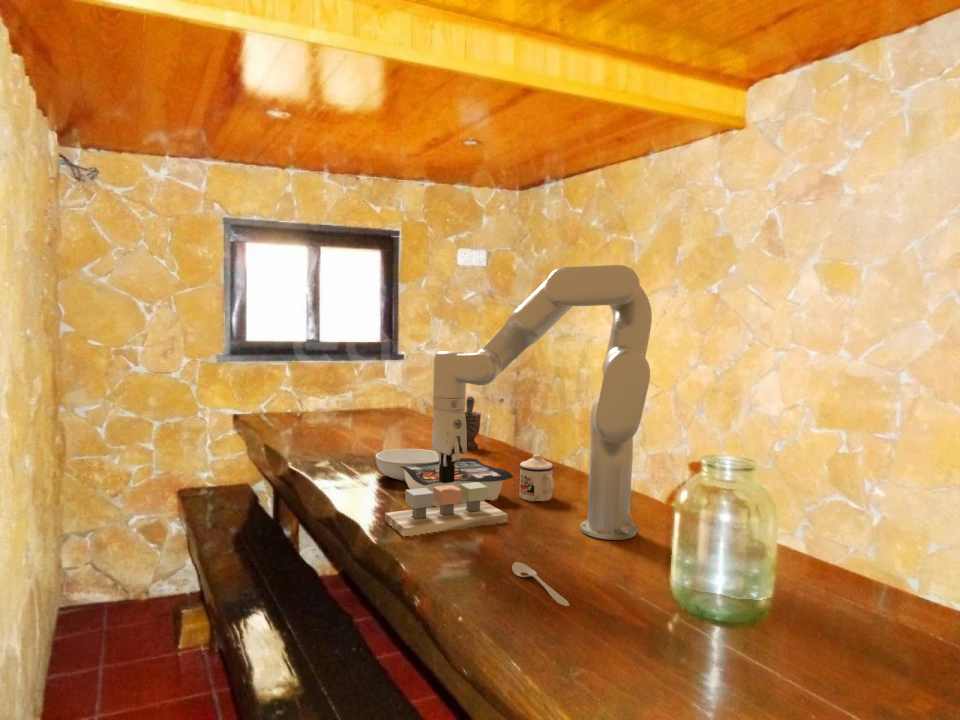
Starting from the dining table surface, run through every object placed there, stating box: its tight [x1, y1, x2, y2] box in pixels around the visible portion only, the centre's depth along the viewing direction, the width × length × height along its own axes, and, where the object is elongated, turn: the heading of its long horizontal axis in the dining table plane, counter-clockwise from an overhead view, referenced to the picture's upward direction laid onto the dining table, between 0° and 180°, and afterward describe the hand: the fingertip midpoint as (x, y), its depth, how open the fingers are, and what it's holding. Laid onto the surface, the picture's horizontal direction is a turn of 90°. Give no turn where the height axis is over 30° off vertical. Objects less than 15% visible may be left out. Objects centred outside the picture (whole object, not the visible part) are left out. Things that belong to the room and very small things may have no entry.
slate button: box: [404, 488, 434, 518], centre depth 150 cm, size 5×5×6 cm
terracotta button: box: [433, 485, 462, 515], centre depth 154 cm, size 5×5×6 cm
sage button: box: [460, 482, 488, 511], centre depth 157 cm, size 5×5×6 cm
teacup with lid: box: [519, 453, 555, 502], centre depth 175 cm, size 12×9×12 cm
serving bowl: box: [375, 448, 439, 482], centre depth 194 cm, size 21×21×7 cm
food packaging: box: [399, 457, 515, 506], centre depth 177 cm, size 25×8×23 cm
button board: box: [384, 500, 508, 538], centre depth 154 cm, size 12×26×2 cm, turn 118°
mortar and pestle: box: [464, 396, 482, 451], centre depth 237 cm, size 12×9×20 cm
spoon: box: [511, 561, 570, 607], centre depth 118 cm, size 4×21×2 cm, turn 26°
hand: (446, 481), depth 153 cm, fingers closed
